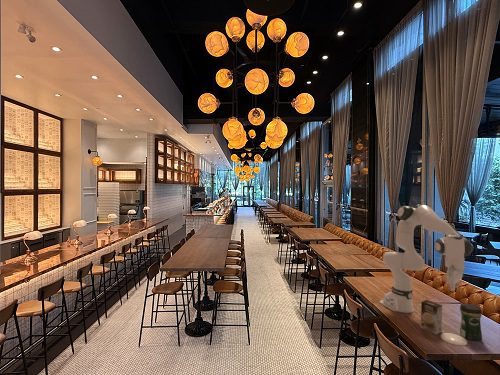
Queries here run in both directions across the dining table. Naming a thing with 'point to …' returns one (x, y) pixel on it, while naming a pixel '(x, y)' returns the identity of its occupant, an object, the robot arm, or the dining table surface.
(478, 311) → the coffee jar
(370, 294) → the dining table surface
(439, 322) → the coffee box
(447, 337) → the cream glossy domed part
